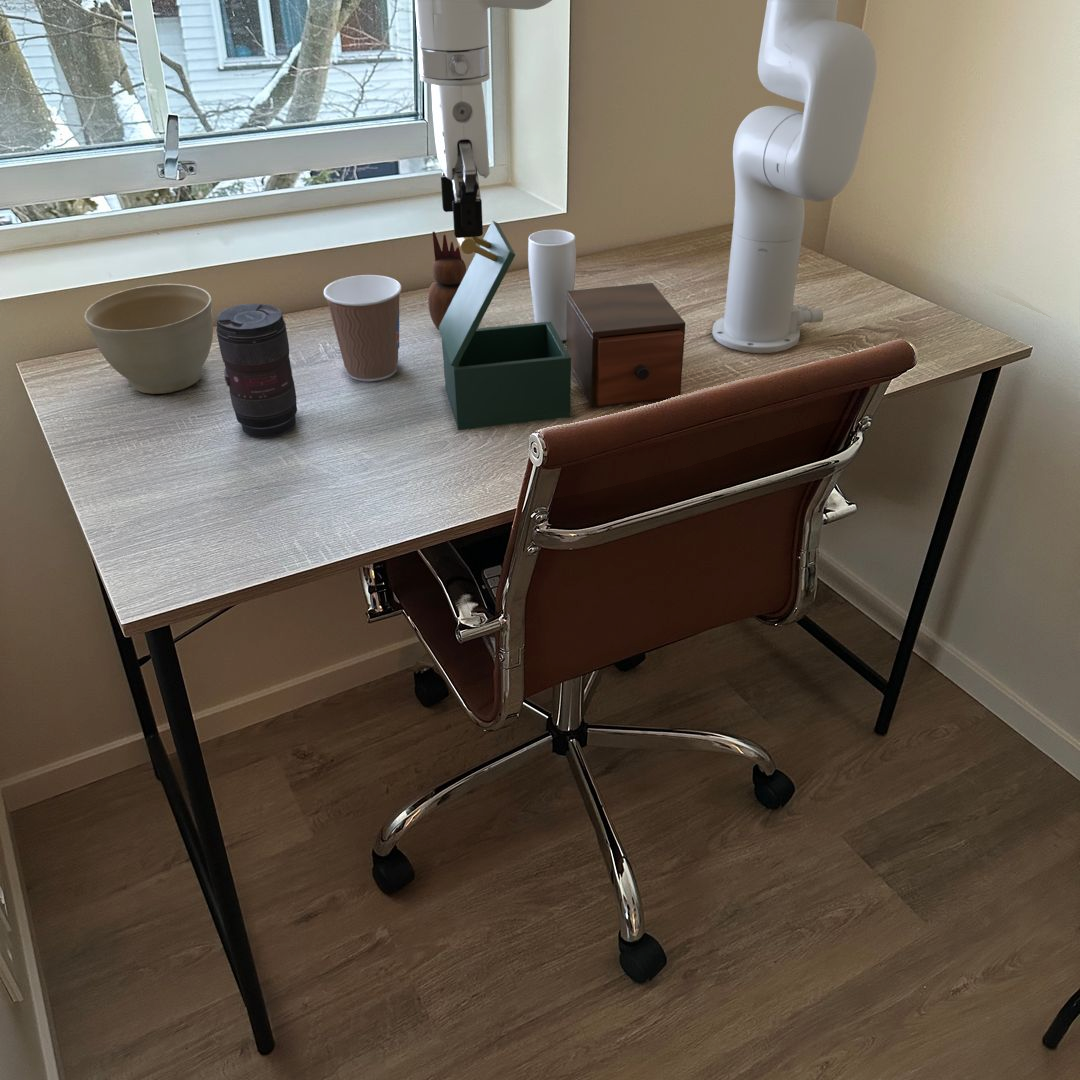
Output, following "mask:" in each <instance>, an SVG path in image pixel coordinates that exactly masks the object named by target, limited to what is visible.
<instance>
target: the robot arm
mask: <svg viewBox="0 0 1080 1080" xmlns="http://www.w3.org/2000/svg"><path fill="white" fill-rule="evenodd" d="M552 1H553V0H414V5H415V6H414V7H415V21H416V23H415V24H416V35H417V37H416V38H417V53H418V66H419V68H418V69H419V80H420V82H422V83H424V84H428V85H430V86H431V87H430V89H431V90H430V91H431V107H432V122H433V123H432V124H433V133H434V144H435V152H436V156H437V157H436V158H437V162H438V164H439V167H440V168H441V171H440V172H441V176H440V187H441V188H440V189H441V202H442V203H441V205H442V210H443V212H445V213H452V219H453V235H454V237H455V238H465V237H482V236H483V233H484V228H483V202H482V197H481V190H480V182H479V176H481V177H482V178H483V179H488V177H489V175H490V160H489V146H488V145H489V144H488V132H487V131H488V130H487V117H486V105H485V104H486V103H485V96H484V89H483V83H484V82H487V81H489V79H490V77H491V75H490V48H489V43H490V42H489V16H488V15H489V13H488V12H489V11H488V10H489V8H498V9H499V8H501V9H510V10H511V9H513V10H520V11H521V10H524V11H525V10H526V11H528V10H529V11H530V10H535V9H540V8H541V7H544V6H546V5H548V4H549V3H550V2H552ZM838 4H839V0H766V7H765V12H764V13H765V14H764V19H763V25H762V32H761V38H760V45H759V50H758V59H757V76H758V80H759V82H760V83H761V85H762V86H763V87H764V88H765V89H766V90H767V91H768V92H771V93H773V94H775V95H777V96H780V97H782V98H786V99H788V100H791V101H795V102H799V103H803V104H804V106H803V111H800V110H798V109H797V110H796V109H794V108H789V107H786V106H783V105H782V106H781V105H767V106H762V107H758V108H757V109H756V108H755V110H753V111H751V112H750V113H749V114H747V115H746V116H745V118H744V119H743V120H742V121H741V122H740V124H739V125H738V127H737V130H736V132H735V136H734V140H733V146H732V166H733V175H734V176H733V177H734V194H735V195H734V212H733V223H732V224H733V225H732V233H731V243H730V244H731V245H730V252H729V253H730V254H729V265H728V276H727V284H726V285H727V286H726V296H725V307H724V316H722V317H720V318H719V319H717V320H716V321H715V322H714V323H713V326H712V330H711V333H712V337H713V338H714V340H715V341H716V342H718V343H719V345H722V346H724V347H726V348H729V349H731V350H735V351H738V352H744V353H752V354H773V353H779V352H783V351H786V350H789V349H791V348H792V347H794V346H796V345H797V344H798V343H799V340H800V336H801V331H800V328H799V327H800V326H801V327H802V326H803V324H805V323H809V324H810V323H811V324H813V323H820V322H823V320H824V311H823V309H822V308H813V309H808V305H807V304H799V305H794V299H795V292H796V285H797V277H798V271H799V263H800V257H801V256H800V255H801V250H802V249H801V247H802V240H803V234H804V227H805V215H806V214H805V211H806V210H805V201H804V200H806V201H809V202H816V203H818V202H819V203H820V202H826V201H829V200H831V199H833V198H835V197H836V196H838V195H839V194H840V193H841V192H842V191H843V190H844V189H845V187H846V186H847V185H848V184H849V182H850V180H851V178H852V176H853V173H854V171H855V169H856V166H857V163H858V160H859V155H860V151H861V148H862V143H863V138H864V135H865V129H866V124H867V121H868V116H869V111H870V106H871V102H872V97H873V92H874V87H875V82H876V79H877V55H876V49H875V46H874V43H873V41H872V39H871V37H870V36H869V35H868V34H867V33H866V32H865V30H863V29H861V28H860V27H858V26H856V25H854V24H850V23H848V22H843V21H838V20H837V12H838Z"/></svg>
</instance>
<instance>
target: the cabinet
mask: <svg viewBox="0 0 1080 1080" xmlns="http://www.w3.org/2000/svg"><path fill="white" fill-rule="evenodd" d="M664 330H672V331H676V330H681V331H682V332H683V334H684V335H683V349H682V363H681V377H680V391H679V395H680V396H681V393H682V392H681V391H682V378H683V365H684V364H683V362H684V349H685V336H686V322H685V320H684V319H683V318H682V317H681V316H680V314H679V313H678V312H677V311H676V309H675V308H674V307H673V305H672V304H671V303H670V302H669V301H668V300H667V299H666V297H665V296H664V295H663V294H662V293H661V291H660V290H659V289H658V288H657V287H656V285H655V284H654V283H653V282H645V283H644V282H643V283H635V284H634V283H633V284H625V285H613V286H604V287H593V288H582V289H574V290H571V291H567V340H566V350H567V352H568V353H569V355H570V357H571V375H572V376H573V377H574V379H575V381H576V383H577V384H578V386H579V389H580V390H581V392H582V394H583V395H584V398H585V399H586V401H587V403H588V405H589V406H590V408H591V409H596V408H604V407H605V408H606V407H615V406H623V405H632V404H640V403H649V402H657V401H658V402H659V401H666V400H665V399H667V400H669V399H668V398H661V399H652V400H643V401H635V402H626V403H617V404H608V405H600V406H598V404H597V402H596V381H597V339H598V337H606V336H616V335H625V334H635V333H645V332H654V331H664ZM669 398H671V397H669Z"/></svg>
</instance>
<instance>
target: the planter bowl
mask: <svg viewBox="0 0 1080 1080" xmlns="http://www.w3.org/2000/svg"><path fill="white" fill-rule="evenodd" d="M212 309H213V300H212V295H210V293H209V292H208V291H207V290H205V289H204V288H201V287H198V286H194V285H190V284H183V283H182V284H181V283H157V284H149V285H141V286H137V287H133V288H128V289H125V290H121V291H118V292H114V293H112V294H109V295H107V296H105V297H102V298H100V299H98V300H97V301H95V302H93V303H92V304H90V305H89V307H87V308H86V310H85V312H84V321H85V323H86V325H87V327H88V328H89V330H90V333H91V336H92V338H93V341H94V343H95V346H96V347H97V349H98V351H99V352H100V353H101V355H102V356H103V358H104V359H105V360H106V362H108V364H109V365H110V366H111V367H112V368H113V369H114V370H115V371H116V372H117V373H118V374H120V376H122V377H123V378H125V379H126V380H128V382H129V384H130V386H131V387H132V388H133V390H135V391H137V392H140V393H143V394H151V395H154V394H167V393H169V394H171V393H173V392H177V391H181V390H184V389H187V388H189V387H191V386H192V385H195V384H196V383H197V382H198V381H199V380H200V379H201V378H202V376H203V366H204V364H205V363H206V361H207V359H208V357H209V355H210V354H209V353H210V351H211V348H212V344H213V338H214V316H213V311H212Z"/></svg>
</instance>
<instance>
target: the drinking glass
mask: <svg viewBox="0 0 1080 1080" xmlns="http://www.w3.org/2000/svg"><path fill="white" fill-rule="evenodd" d="M527 239H528V240H527V241H528V243H527V263H528V264H527V265H528V276H529V285H530V293H531V302H532V313H533V323H540V322H551V323H552V325H553V327H554V329H555V330H556V332H557V334H558V336H559V337H560V339H561V341H562V342H565V341H567V291H571V290H575V282H576V281H575V279H576V271H577V270H576V269H577V242H576V241H577V240H576V239H577V238H576V235H575V234H574V233H572V232H570V231H568V230H563V229H543V230H539V231H535V232H533V233H531V234H530V235H529V236H528V238H527Z"/></svg>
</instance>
